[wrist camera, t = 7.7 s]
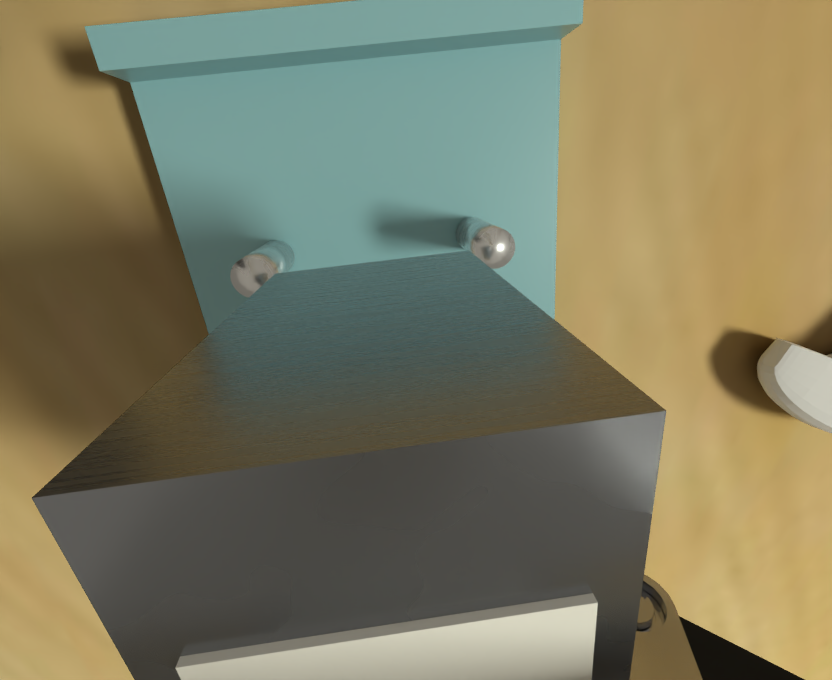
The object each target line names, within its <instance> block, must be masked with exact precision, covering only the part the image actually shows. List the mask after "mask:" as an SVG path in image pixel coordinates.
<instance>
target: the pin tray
mask: <svg viewBox="0 0 832 680" xmlns="http://www.w3.org/2000/svg"><path fill="white" fill-rule="evenodd" d="M582 22H583V0H358V1H347V2H337V3H326V4H316V5H305V6H295V7H284V8H274V9H263V10H253V11H242V12H231V13H221V14H210V15H200V16H189V17H179V18H168V19H158V20H147V21H137V22H126V23H116V24H105V25H95V26H85V29H86V32H87V35H88V38H89V41H90V44H91V47H92V50H93V53H94V56H95V59H96V62H97V65H98V68H99V71H100V72H103V73H106V74H108V75H111V76H114V77H117V78H119V79H122V80H125V81H127V82H130V84H131V87H132V90H133V93H134V97H135V100H136V103H137V106H138V109H139V113H140V116H141V119H142V122H143V125H144V129H145V132H146V135H147V138H148V141H149V145H150V148H151V151H152V154H153V157H154V160H155V164H156V167H157V170H158V173H159V176H160V180H161V183H162V186H163V189H164V192H165V196H166V199H167V202H168V205H169V208H170V212H171V215H172V218H173V221H174V224H175V228H176V231H177V234H178V237H179V240H180V244H181V247H182V250H183V253H184V256H185V259H186V263H187V266H188V269H189V272H190V275H191V279H192V282H193V285H194V288H195V291H196V295H197V298H198V301H199V304H200V307H201V311H202V314H203V317H204V320H205V323H206V327H207V330H208V333H209V334H210V333H211V332H212V331H213V330H214V329H215V328H217V327H218V326H219V325H220V324H221V323H222V322H223V321H224V320H225V319H226V318H227V317H228V316H230V315H231V314H232V313H233V312H234V311H235V310H236V309H237V308H238V307H239V306H240V305H242V304H243V303H244V302H245V301H246V300H247V299H248V298H249V297H250V296H251V295H252V294H253V293H255V292H256V291H257V290H258V289H259V288H260V287H261V286H262V285H263V284H264V283H265V282H266V281H268V280H269V279H270V278H271V277H272V276H273V275H274V274H276V273H284V272H292V271H301V270H309V269H317V268H326V267H334V266H342V265H351V264H359V263H367V262H376V261H384V260H392V259H401V258H409V257H417V256H426V255H434V254H442V253H451V252H459V251H467V250H469V251H470V252H472V253H473V254H474V255H475V256H476V257H478V258H479V259H480V260H481V261H483V262H484V263H485V264H486V265H488V266H489V267H490V268H491V269H492V270H494V271H495V272H496V273H497V274H499V275H500V276H501V277H502V278H503V279H505V280H506V281H507V282H508V283H510V284H511V285H512V286H513V287H515V288H516V289H517V290H518V291H519V292H521V293H522V294H523V295H524V296H526V297H527V298H528V299H529V300H531V301H532V302H533V303H534V304H535V305H537V306H538V307H539V308H540V309H542V310H543V311H544V312H545V313H547V314H548V315H549V316H550V317H551V318H553V319H554V315H555V271H556V228H557V184H558V141H559V97H560V53H561V39H562V38H563V37H564V36H566V35H567V34H568V33H570V32H571V31H573V30H574V29H575V28H577V27H578V26H579V25H581V24H582Z"/></svg>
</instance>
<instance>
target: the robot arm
mask: <svg viewBox="0 0 832 680" xmlns="http://www.w3.org/2000/svg"><path fill="white" fill-rule="evenodd" d="M629 680H804V679H802V678H800V677H798V676H796V675H794V674H792V673H790V672H788V671H786V670H784V669H782V668H781V667H779V666H777V665H775V664H773V663H771V662H769V661H767V660H765V659H763V658H761V657H759V656H757V655H755V654H753V653H751V652H749V651H747V650H745V649H743V648H741V647H739V646H737V645H735V644H733V643H731V642H729V641H727V640H725V639H723V638H721V637H719V636H717V635H715V634H713V633H711V632H709V631H707V630H705V629H703V628H701V627H699V626H697V625H695V624H693V623H691V622H689V621H687V620H685V619H683V618H682V617H680V616H678V613H677V610H676V608H675V605H674V604H673V602H672V600H671V598H670V596H669V594H668V593H667V592H666V591H665V590H664V589H663V588H662V587H661V586H660V585H659V584H658V583H657V582H655V581H654V580H652V579H651V578H650V577H648V576H646V575H644V577H643V584H642V592H641V599H640V606H639V614H638V621H637V628H636V636H635V643H634V650H633V657H632V665H631V672H630V679H629Z"/></svg>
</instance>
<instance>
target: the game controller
mask: <svg viewBox="0 0 832 680" xmlns="http://www.w3.org/2000/svg"><path fill="white" fill-rule="evenodd" d="M757 374H758V379H759V381H760V383H761V385H762V387H763V389H764V391H765V392H766V393H767V395H768V396H769V397H770V398H771V399H772V400H773V401H774V402H775V403H776V404H777V405H779V406H780V407H781V408H782V409H784V410H785V411H786V412H787V413H789V414H790V415H792V416H793V417H795V418H797V419H798V420H800V421H802V422H804V423H806V424H808V425H810V426H813V427H816V428H818V429H821V430H824V431H827V432H830V433H832V354H829V355H823V354H821V353H818V352H816V351H813V350H810V349H808V348H805V347H803V346H800V345H797V344H794V343H791V342H788V341H785V340H782V339H778V338H776V340H775V341H774V342H773V343H772V344H771V345H770V346H769V347H768V348H767V349H766V351H765V352H764V353H763V354H762V355H761V357H760V359H759V360H758V364H757Z"/></svg>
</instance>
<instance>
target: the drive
mask: <svg viewBox="0 0 832 680" xmlns="http://www.w3.org/2000/svg"><path fill="white" fill-rule="evenodd" d="M665 416H666V410H665V409H663V408H662V407H661V406H660V405H658V404H657V403H656V402H655V401H654V400H652V399H651V398H650V397H649V396H647V395H646V394H645V393H644V392H642V391H641V390H640V389H639V388H638V387H636V386H635V385H634V384H633V383H631V382H630V381H629V380H628V379H626V378H625V377H624V376H623V375H622V374H620V373H619V372H618V371H617V370H615V369H614V368H613V367H612V366H611V365H609V364H608V363H607V362H606V361H604V360H603V359H602V358H601V357H599V356H598V355H597V354H596V353H595V352H593V351H592V350H591V349H590V348H588V347H587V346H586V345H585V344H583V343H582V342H581V341H580V340H579V339H577V338H576V337H575V336H574V335H572V334H571V333H570V332H569V331H567V330H566V329H565V328H564V327H563V326H561V325H560V324H559V323H558V322H556V321H555V320H554V319H553V318H551V317H550V316H549V315H548V314H547V313H545V312H544V311H543V310H542V309H540V308H539V307H538V306H537V305H535V304H534V303H533V302H532V301H531V300H529V299H528V298H527V297H526V296H524V295H523V294H522V293H521V292H519V291H518V290H517V289H516V288H515V287H513V286H512V285H511V284H510V283H508V282H507V281H506V280H505V279H503V278H502V277H501V276H500V275H499V274H497V273H496V272H495V271H494V270H492V269H491V268H490V267H489V266H488V265H486V264H485V263H484V262H483V261H481V260H480V259H479V258H478V257H476V256H475V255H474V254H473V253H472V252H470V251H469V250H467V251H459V252H451V253H442V254H434V255H426V256H417V257H409V258H401V259H392V260H384V261H376V262H367V263H359V264H351V265H342V266H334V267H326V268H317V269H309V270H301V271H292V272H284V273H276V274H274V275H273V276H272V277H271V278H270V279H269V280H268V281H266V282H265V283H264V284H263V285H262V286H261V287H260V288H259V289H258V290H257V291H256V292H255V293H253V294H252V295H251V296H250V297H249V298H248V299H247V300H246V301H245V302H244V303H243V304H242V305H240V306H239V307H238V308H237V309H236V310H235V311H234V312H233V313H232V314H231V315H230V316H228V317H227V318H226V319H225V320H224V321H223V322H222V323H221V324H220V325H219V326H218V327H217V328H215V329H214V330H213V331H212V332H211V333H210V334H209V335H208V336H207V337H206V338H205V339H204V340H202V341H201V342H200V343H199V344H198V345H197V346H196V347H195V348H194V349H193V350H192V351H191V352H189V353H188V354H187V355H186V356H185V357H184V358H183V359H182V360H181V361H180V362H179V363H178V364H176V365H175V366H174V367H173V368H172V369H171V370H170V371H169V372H168V373H167V374H166V375H165V376H163V377H162V378H161V379H160V380H159V381H158V382H157V383H156V384H155V385H154V386H153V387H152V388H150V389H149V390H148V391H147V392H146V393H145V394H144V395H143V396H142V397H141V398H140V399H139V400H137V401H136V402H135V403H134V404H133V405H132V406H131V407H130V408H129V409H128V410H127V411H126V412H124V413H123V414H122V415H121V416H120V417H119V418H118V419H117V420H116V421H115V422H114V423H112V424H111V425H110V426H109V427H108V428H107V429H106V430H105V431H104V432H103V433H102V434H101V435H99V436H98V437H97V438H96V439H95V440H94V441H93V442H92V443H91V444H90V445H89V446H88V447H86V448H85V449H84V450H83V451H82V452H81V453H80V454H79V455H78V456H77V457H76V458H75V459H73V460H72V461H71V462H70V463H69V464H68V465H67V466H66V467H65V468H64V469H63V470H62V471H60V472H59V473H58V474H57V475H56V476H55V477H54V478H53V479H52V480H51V481H50V482H49V483H47V484H46V485H45V486H44V487H43V488H42V489H41V490H40V491H39V492H38V493H37V494H36V495H34V496H33V497H32V500H33V501H34V503H35V505H36V507H37V508H38V510H39V512H40V514H41V515H42V517H43V519H44V521H45V522H46V524H47V526H48V528H49V529H50V531H51V533H52V535H53V537H54V538H55V540H56V542H57V544H58V545H59V547H60V549H61V551H62V552H63V554H64V556H65V558H66V559H67V561H68V563H69V565H70V567H71V568H72V570H73V572H74V574H75V575H76V577H77V579H78V581H79V582H80V584H81V586H82V588H83V589H84V591H85V593H86V595H87V597H88V598H89V600H90V602H91V604H92V605H93V607H94V609H95V611H96V612H97V614H98V616H99V618H100V619H101V621H102V623H103V625H104V627H105V628H106V630H107V632H108V634H109V635H110V637H111V639H112V641H113V642H114V644H115V646H116V648H117V649H118V651H119V653H120V655H121V657H122V658H123V660H124V662H125V664H126V665H127V667H128V669H129V671H130V672H131V674H132V676H133V678H134V679H135V680H629V679H630V672H631V665H632V657H633V650H634V643H635V636H636V628H637V621H638V614H639V606H640V599H641V592H642V584H643V577H644V570H645V562H646V555H647V548H648V540H649V533H650V526H651V518H652V511H653V504H654V497H655V489H656V482H657V475H658V467H659V460H660V453H661V445H662V438H663V431H664V423H665Z"/></svg>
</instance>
